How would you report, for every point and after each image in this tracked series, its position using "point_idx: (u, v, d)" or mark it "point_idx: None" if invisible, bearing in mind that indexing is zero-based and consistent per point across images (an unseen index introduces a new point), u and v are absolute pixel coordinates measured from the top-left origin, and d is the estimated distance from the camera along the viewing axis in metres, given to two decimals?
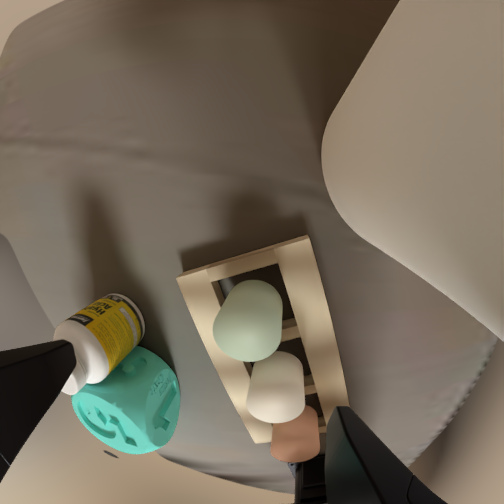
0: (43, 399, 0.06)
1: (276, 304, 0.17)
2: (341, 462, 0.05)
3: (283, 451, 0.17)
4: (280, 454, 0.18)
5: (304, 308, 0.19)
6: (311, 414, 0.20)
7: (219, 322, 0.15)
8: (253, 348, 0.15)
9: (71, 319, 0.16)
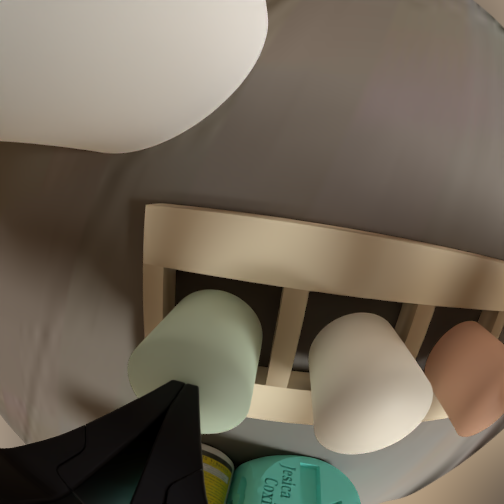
0: None
1: (185, 311, 0.09)
2: None
3: (481, 418, 0.06)
4: (483, 423, 0.06)
5: (256, 261, 0.10)
6: (463, 334, 0.09)
7: None
8: (218, 399, 0.07)
9: None
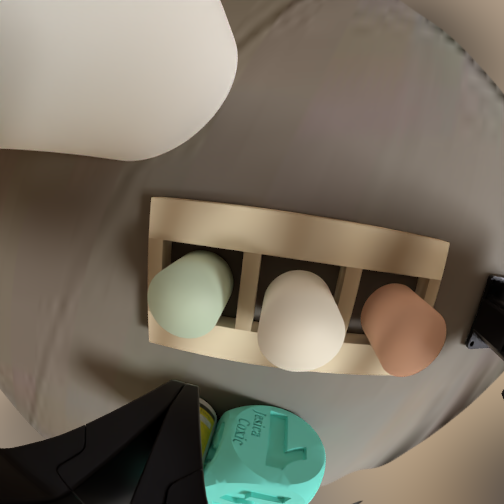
0: None
1: (184, 258, 0.15)
2: None
3: (406, 359, 0.11)
4: (410, 365, 0.12)
5: (224, 234, 0.16)
6: (387, 291, 0.14)
7: (162, 321, 0.14)
8: (201, 307, 0.13)
9: None
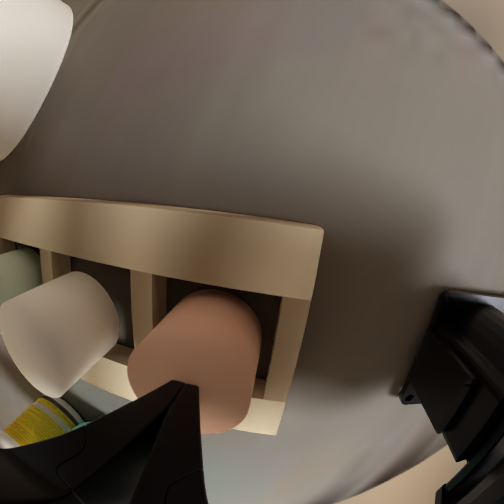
0: None
1: None
2: None
3: None
4: None
5: (27, 229, 0.11)
6: (185, 300, 0.10)
7: None
8: None
9: None
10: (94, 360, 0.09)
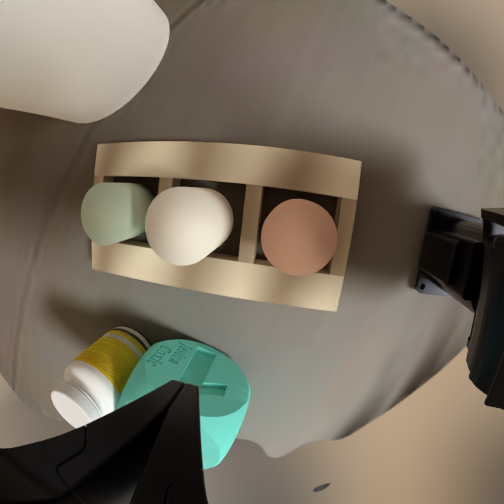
0: None
1: None
2: None
3: (293, 255, 0.14)
4: (301, 263, 0.14)
5: (145, 164, 0.17)
6: (284, 201, 0.17)
7: (90, 232, 0.16)
8: (114, 214, 0.15)
9: None
10: (222, 240, 0.15)
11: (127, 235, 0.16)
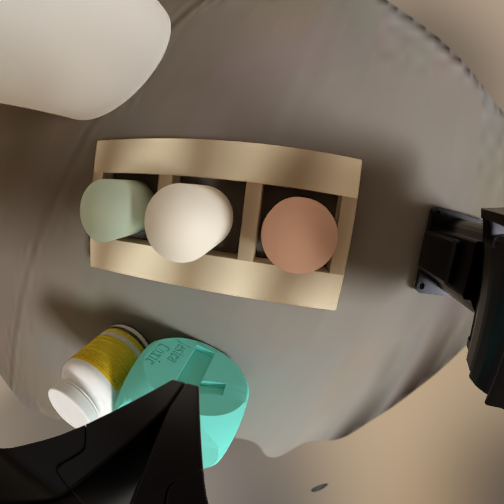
0: None
1: None
2: None
3: (293, 252, 0.14)
4: (301, 261, 0.14)
5: (145, 161, 0.17)
6: (284, 199, 0.17)
7: (88, 229, 0.15)
8: (114, 211, 0.15)
9: None
10: (222, 237, 0.15)
11: (126, 232, 0.16)
